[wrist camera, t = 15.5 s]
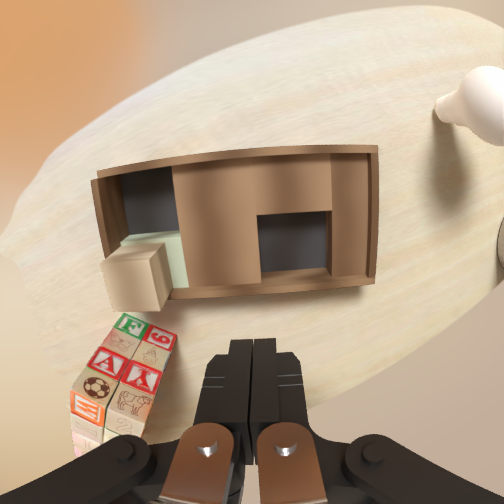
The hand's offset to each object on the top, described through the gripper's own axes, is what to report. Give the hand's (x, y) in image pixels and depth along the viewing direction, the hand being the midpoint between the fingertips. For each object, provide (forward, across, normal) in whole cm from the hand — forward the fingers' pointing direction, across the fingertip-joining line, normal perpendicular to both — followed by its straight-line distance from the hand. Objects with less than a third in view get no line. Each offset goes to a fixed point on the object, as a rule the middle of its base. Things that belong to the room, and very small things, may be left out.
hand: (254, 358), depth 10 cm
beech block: (+14, +10, +2) cm, 17 cm away
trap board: (+16, +2, -1) cm, 17 cm away
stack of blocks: (+16, +17, +18) cm, 30 cm away
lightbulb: (+17, -18, -11) cm, 27 cm away
